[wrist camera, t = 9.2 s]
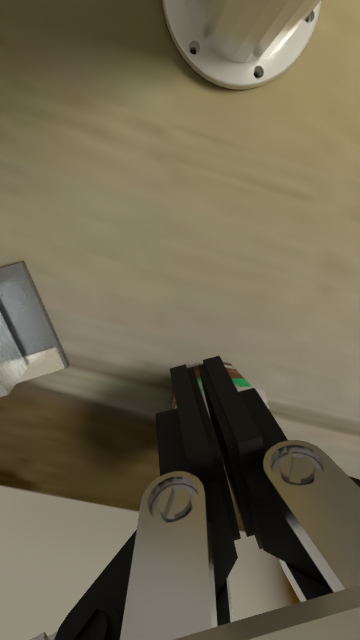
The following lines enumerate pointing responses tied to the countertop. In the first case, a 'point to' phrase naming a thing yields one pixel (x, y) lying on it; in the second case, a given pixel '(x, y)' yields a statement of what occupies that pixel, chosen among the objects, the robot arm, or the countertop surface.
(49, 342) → the gauge body
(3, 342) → the grey boxy piece
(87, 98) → the countertop surface
